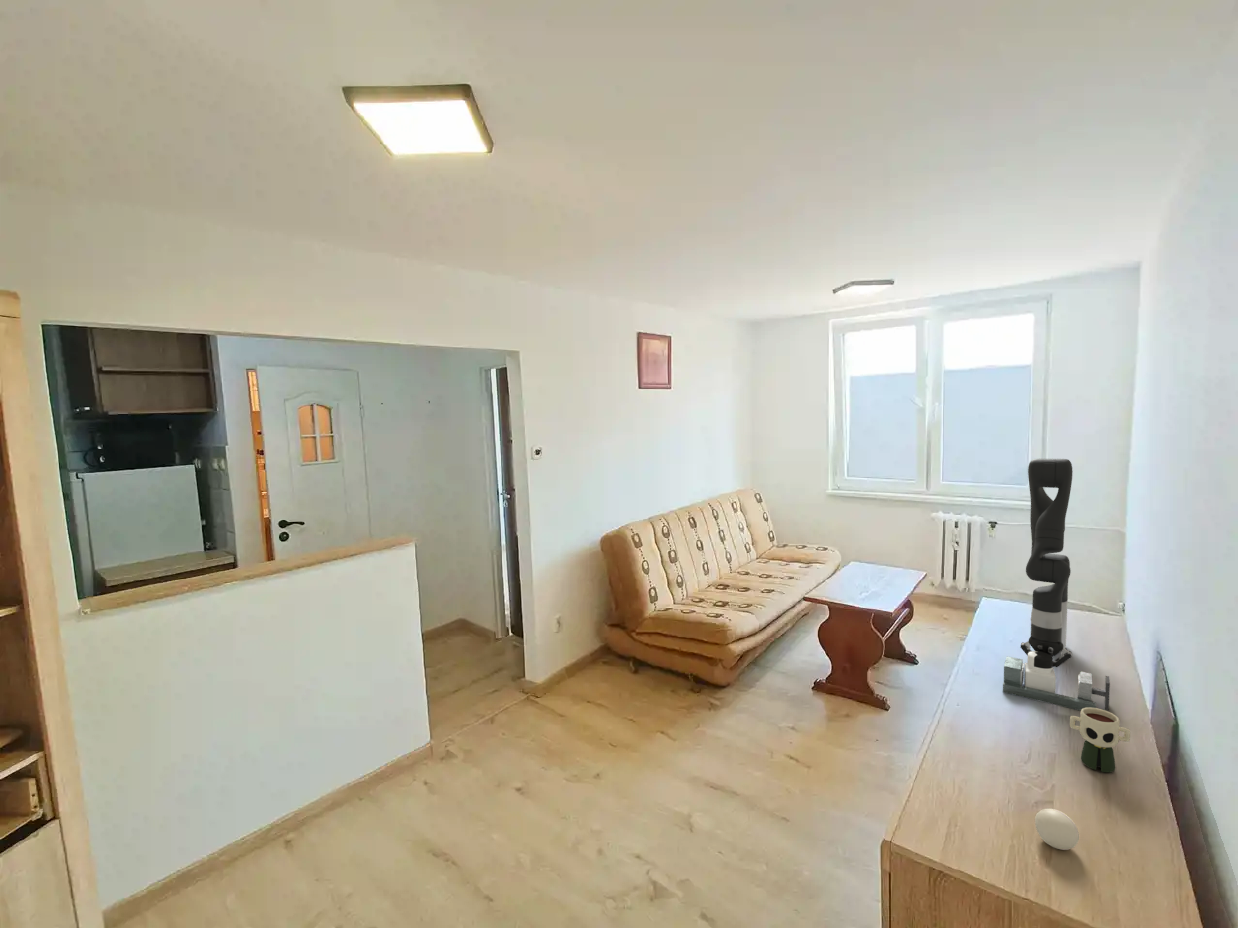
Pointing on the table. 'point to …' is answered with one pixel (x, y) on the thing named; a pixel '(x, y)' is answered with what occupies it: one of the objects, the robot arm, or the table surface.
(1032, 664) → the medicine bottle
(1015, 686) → the vise bed
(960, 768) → the table surface
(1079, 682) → the sliding jaw
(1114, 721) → the character mug
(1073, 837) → the white egg
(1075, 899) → the table surface
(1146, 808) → the table surface
